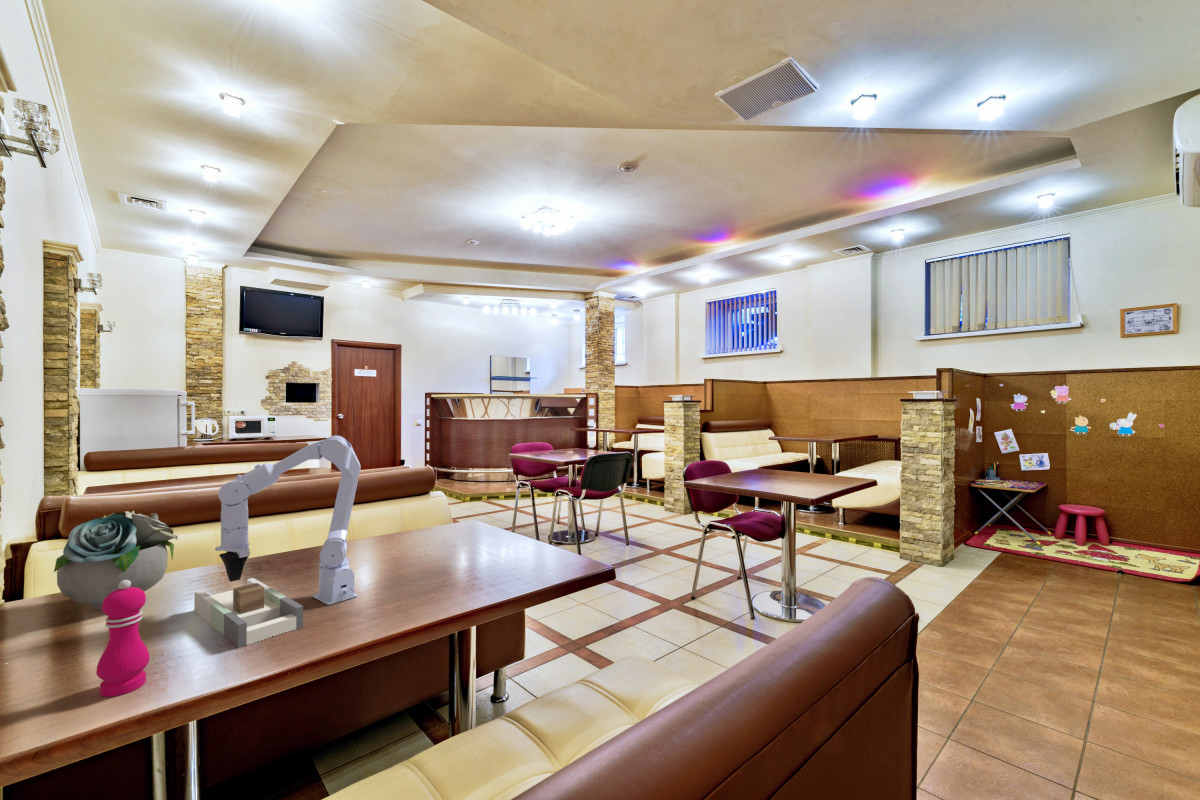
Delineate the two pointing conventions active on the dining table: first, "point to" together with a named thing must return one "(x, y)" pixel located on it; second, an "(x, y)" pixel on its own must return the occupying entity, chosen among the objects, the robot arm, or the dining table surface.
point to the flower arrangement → (113, 556)
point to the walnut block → (248, 598)
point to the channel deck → (249, 615)
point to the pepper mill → (123, 642)
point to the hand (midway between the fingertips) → (234, 580)
